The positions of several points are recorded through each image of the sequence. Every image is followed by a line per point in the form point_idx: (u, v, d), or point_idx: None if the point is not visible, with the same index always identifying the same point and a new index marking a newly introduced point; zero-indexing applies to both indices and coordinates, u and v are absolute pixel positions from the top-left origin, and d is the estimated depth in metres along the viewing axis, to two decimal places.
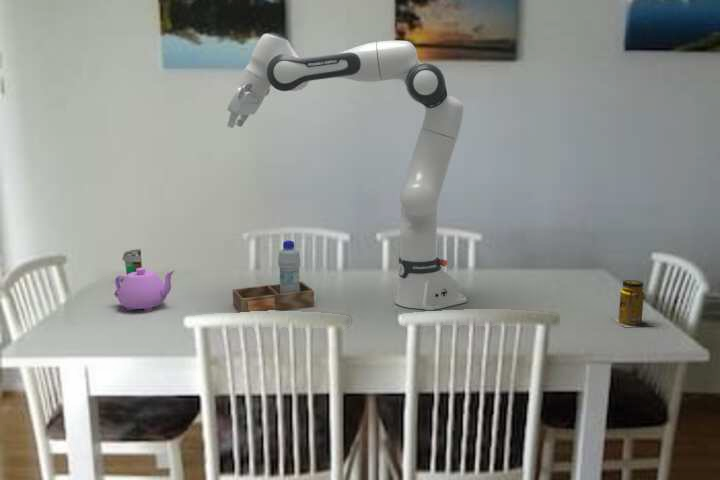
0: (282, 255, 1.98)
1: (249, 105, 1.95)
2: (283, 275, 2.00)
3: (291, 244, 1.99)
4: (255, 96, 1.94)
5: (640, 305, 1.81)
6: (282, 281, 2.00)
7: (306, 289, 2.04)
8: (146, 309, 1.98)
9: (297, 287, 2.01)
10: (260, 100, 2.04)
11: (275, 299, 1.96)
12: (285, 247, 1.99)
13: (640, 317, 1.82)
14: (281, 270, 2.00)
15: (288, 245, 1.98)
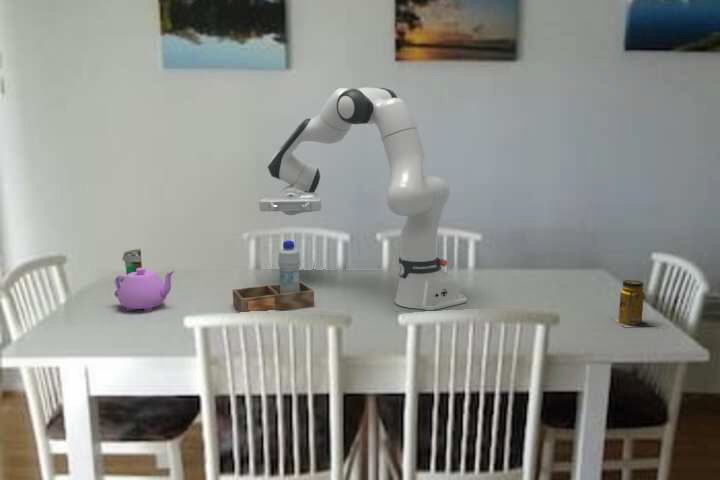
0: (282, 255, 1.98)
1: (285, 199, 2.17)
2: (283, 275, 2.00)
3: (291, 244, 1.99)
4: (284, 196, 2.20)
5: (640, 305, 1.81)
6: (282, 281, 2.00)
7: (306, 289, 2.04)
8: (146, 309, 1.98)
9: (297, 287, 2.01)
10: (313, 197, 2.20)
11: (275, 299, 1.96)
12: (285, 247, 1.99)
13: (640, 317, 1.82)
14: (281, 270, 2.00)
15: (288, 245, 1.99)
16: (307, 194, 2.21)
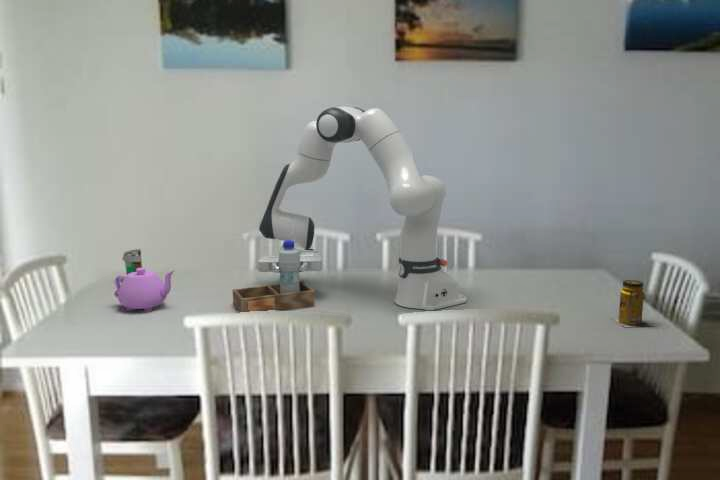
0: (282, 255, 1.98)
1: None
2: (283, 275, 2.00)
3: (291, 244, 1.99)
4: None
5: (640, 305, 1.81)
6: (282, 281, 2.00)
7: (306, 289, 2.04)
8: (146, 309, 1.98)
9: (297, 287, 2.01)
10: (314, 255, 2.10)
11: (275, 299, 1.96)
12: (285, 247, 1.99)
13: (640, 317, 1.82)
14: (281, 270, 2.00)
15: (288, 245, 1.98)
16: (308, 252, 2.12)
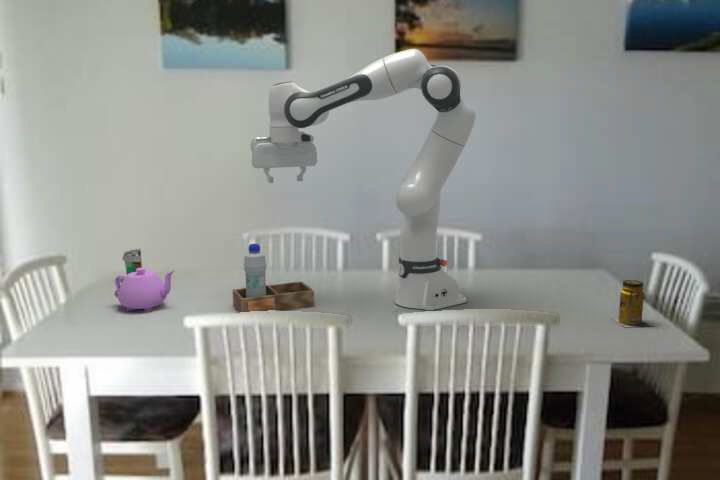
0: (247, 259, 1.94)
1: (281, 156, 1.99)
2: (248, 279, 1.95)
3: (256, 247, 1.95)
4: (280, 145, 1.98)
5: (640, 305, 1.81)
6: (248, 285, 1.96)
7: (306, 289, 2.04)
8: (146, 309, 1.98)
9: (263, 291, 1.97)
10: (310, 149, 2.02)
11: (275, 299, 1.96)
12: (250, 250, 1.95)
13: (640, 317, 1.82)
14: (246, 274, 1.96)
15: (253, 248, 1.94)
16: (304, 144, 2.01)
